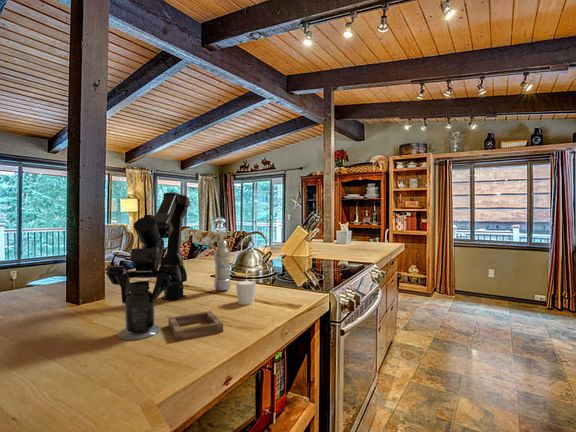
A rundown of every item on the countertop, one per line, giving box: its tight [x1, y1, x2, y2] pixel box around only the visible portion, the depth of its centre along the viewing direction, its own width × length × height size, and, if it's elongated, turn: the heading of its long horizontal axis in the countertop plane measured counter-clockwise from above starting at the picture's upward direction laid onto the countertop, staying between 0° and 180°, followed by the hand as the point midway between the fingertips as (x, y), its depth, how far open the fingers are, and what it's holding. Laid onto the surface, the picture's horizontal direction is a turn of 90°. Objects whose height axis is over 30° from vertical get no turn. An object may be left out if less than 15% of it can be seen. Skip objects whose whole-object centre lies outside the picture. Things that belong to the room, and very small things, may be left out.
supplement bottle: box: [124, 280, 155, 332], centre depth 84 cm, size 7×7×12 cm
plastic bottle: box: [213, 240, 232, 292], centre depth 128 cm, size 6×7×20 cm
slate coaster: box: [117, 324, 161, 341], centre depth 84 cm, size 10×10×1 cm
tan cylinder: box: [235, 280, 257, 306], centre depth 111 cm, size 7×7×7 cm
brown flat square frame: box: [167, 310, 224, 342], centre depth 87 cm, size 12×12×2 cm
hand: (137, 302), depth 82 cm, fingers closed on supplement bottle, 7 cm apart
